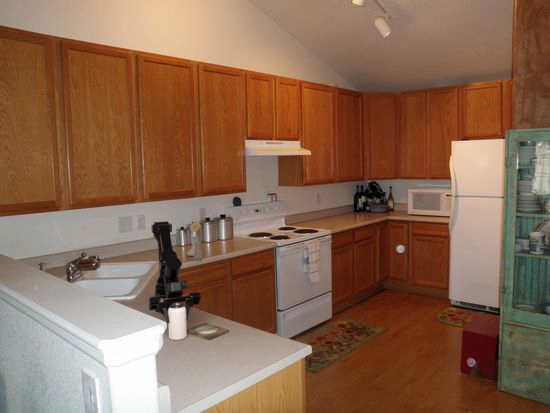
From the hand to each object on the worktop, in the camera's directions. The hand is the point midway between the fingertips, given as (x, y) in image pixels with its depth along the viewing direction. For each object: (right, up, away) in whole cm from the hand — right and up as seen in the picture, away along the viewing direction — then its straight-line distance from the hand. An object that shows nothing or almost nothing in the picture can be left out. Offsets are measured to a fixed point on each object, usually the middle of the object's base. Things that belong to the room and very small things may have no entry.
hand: (178, 321), depth 162 cm
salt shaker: (-17, +5, +140) cm, 141 cm away
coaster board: (+10, -6, +7) cm, 13 cm away
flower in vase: (-22, +6, +155) cm, 157 cm away
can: (0, -7, +2) cm, 7 cm away
